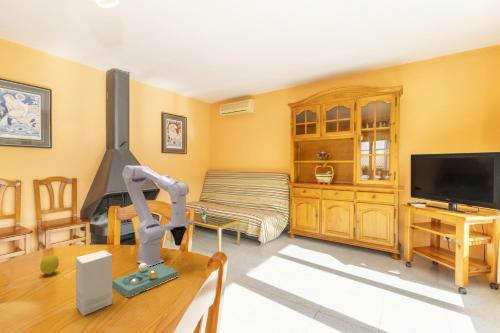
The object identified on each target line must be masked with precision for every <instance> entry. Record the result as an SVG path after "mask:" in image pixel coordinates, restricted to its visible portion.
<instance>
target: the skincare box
mask: <svg viewBox="0 0 500 333" xmlns="http://www.w3.org/2000/svg"><path fill="white" fill-rule="evenodd" d="M112 281H113V254H112V253H110V252H108V251H107V250H105V249H104V250H100V251H95V252H92V253H88V254H84V255H81V256H76V257H75V301H76V302H75V307H76V309H77V310H78V311H79V313H80V315H82V316H83V317H85V316H87V315H89V314H91V313H94V312H96V311H98V310H101V309H103V308H106V307H108V306H110V305H112V304H113V288H112ZM105 306H106V307H105ZM86 314H87V315H86Z"/></svg>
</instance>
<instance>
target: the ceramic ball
mask: <svg viewBox="0 0 500 333" xmlns="http://www.w3.org/2000/svg"><path fill="white" fill-rule="evenodd" d="M147 268H149V267H148V265H147V264H146V263H141V264H140V263H139V265H138V271H141V272H144V271H146V270H147Z"/></svg>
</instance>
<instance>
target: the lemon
mask: <svg viewBox="0 0 500 333" xmlns="http://www.w3.org/2000/svg"><path fill="white" fill-rule="evenodd" d="M59 266H60V261H59V258H58V256H57V255H55V254H52V253H49V254H48V255H45V256H44V257H43V258H42V259H41V261H40V265H39V268H40V271H41V272H42V273H43V274H46V275H52V274H53V273H54V272H56V270H58V268H59Z"/></svg>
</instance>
